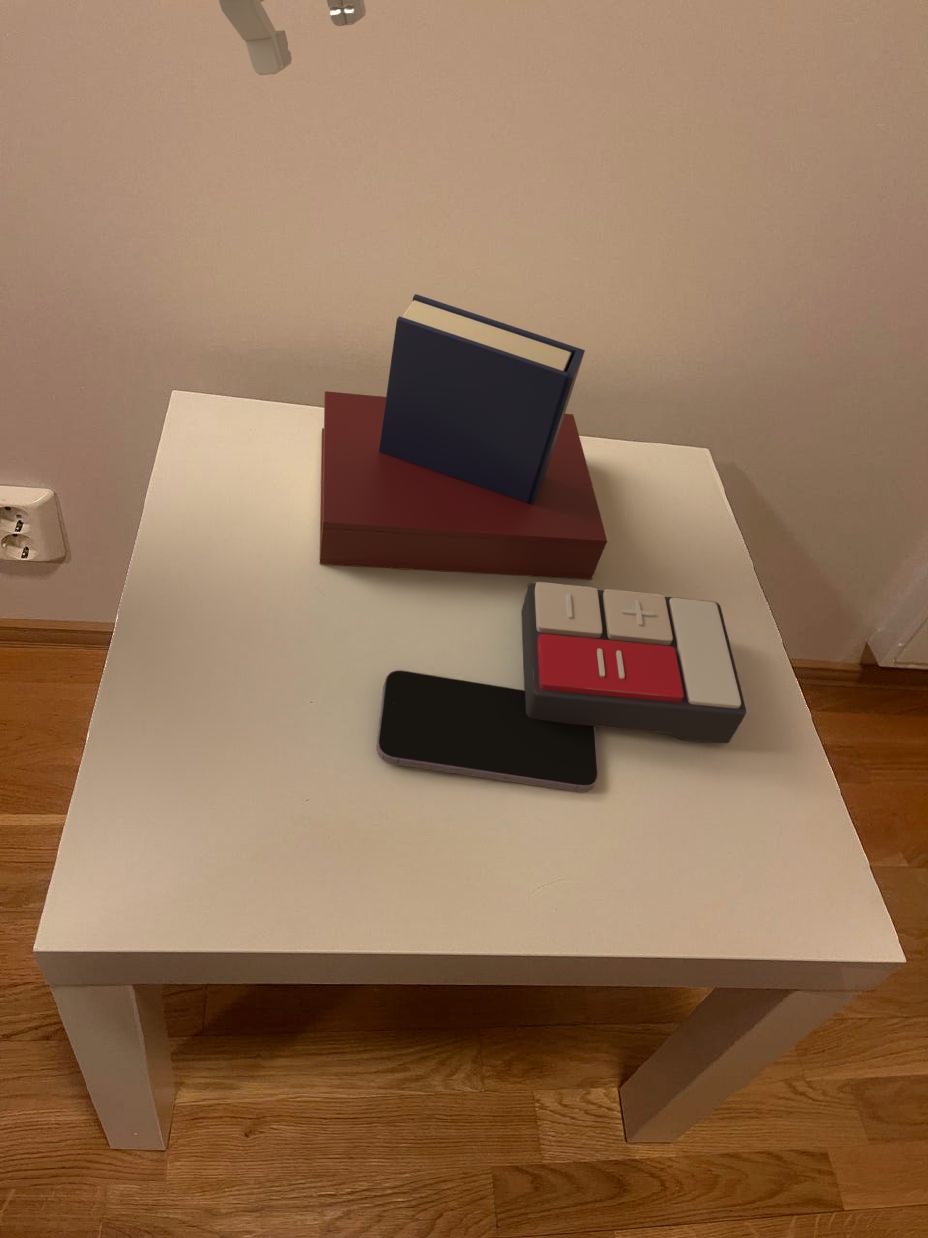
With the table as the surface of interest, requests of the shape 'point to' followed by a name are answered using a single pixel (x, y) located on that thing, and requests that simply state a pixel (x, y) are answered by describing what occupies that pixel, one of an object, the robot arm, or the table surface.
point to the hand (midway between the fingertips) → (314, 45)
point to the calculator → (629, 662)
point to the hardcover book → (476, 398)
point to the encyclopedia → (448, 507)
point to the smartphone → (480, 733)
